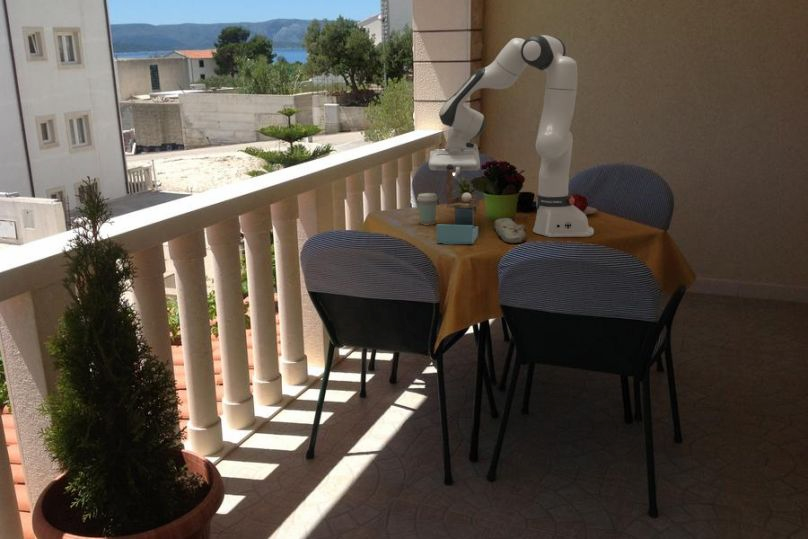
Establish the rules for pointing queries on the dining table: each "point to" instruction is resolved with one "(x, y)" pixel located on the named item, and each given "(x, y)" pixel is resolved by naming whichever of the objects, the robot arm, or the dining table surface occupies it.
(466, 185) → the house plant
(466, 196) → the cream ball
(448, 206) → the walnut chute
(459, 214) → the fulcrum stand
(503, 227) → the elongated rock
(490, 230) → the dining table surface
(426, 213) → the coffee cup
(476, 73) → the robot arm
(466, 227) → the light blue box
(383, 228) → the dining table surface
